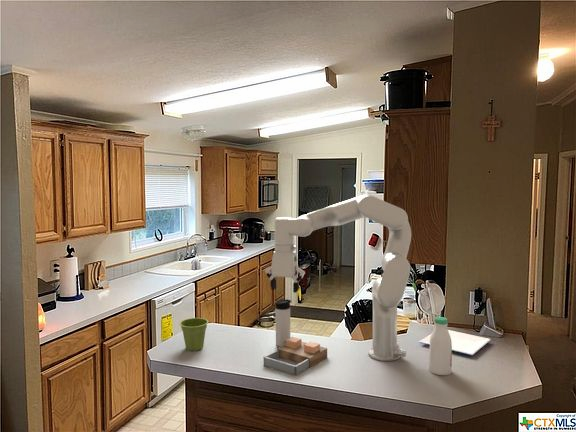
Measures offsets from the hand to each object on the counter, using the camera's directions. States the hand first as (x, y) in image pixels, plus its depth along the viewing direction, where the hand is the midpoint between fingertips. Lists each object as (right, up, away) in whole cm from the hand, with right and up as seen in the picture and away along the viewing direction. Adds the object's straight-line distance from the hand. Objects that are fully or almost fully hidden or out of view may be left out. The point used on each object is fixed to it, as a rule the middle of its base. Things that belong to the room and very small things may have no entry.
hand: (284, 290), depth 178 cm
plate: (+73, -25, +12) cm, 78 cm away
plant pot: (-38, -26, +10) cm, 47 cm away
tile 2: (+11, -23, -4) cm, 26 cm away
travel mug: (-1, -26, +11) cm, 28 cm away
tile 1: (+4, -22, +1) cm, 23 cm away
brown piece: (+7, -27, -2) cm, 27 cm away
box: (+1, -27, -10) cm, 29 cm away
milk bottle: (+57, -27, -15) cm, 65 cm away
